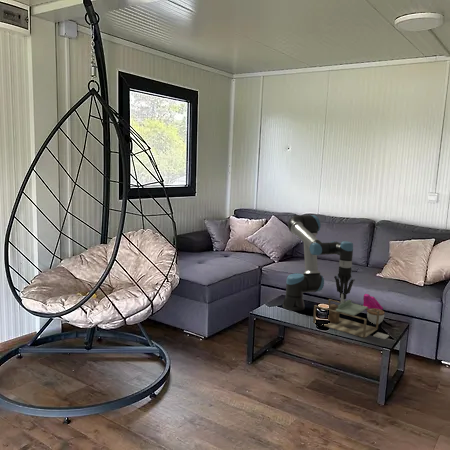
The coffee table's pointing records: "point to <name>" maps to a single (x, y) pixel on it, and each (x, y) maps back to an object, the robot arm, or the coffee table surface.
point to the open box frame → (350, 323)
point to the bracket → (371, 302)
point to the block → (333, 314)
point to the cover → (350, 308)
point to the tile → (381, 335)
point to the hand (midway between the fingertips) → (342, 303)
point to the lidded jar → (375, 315)
